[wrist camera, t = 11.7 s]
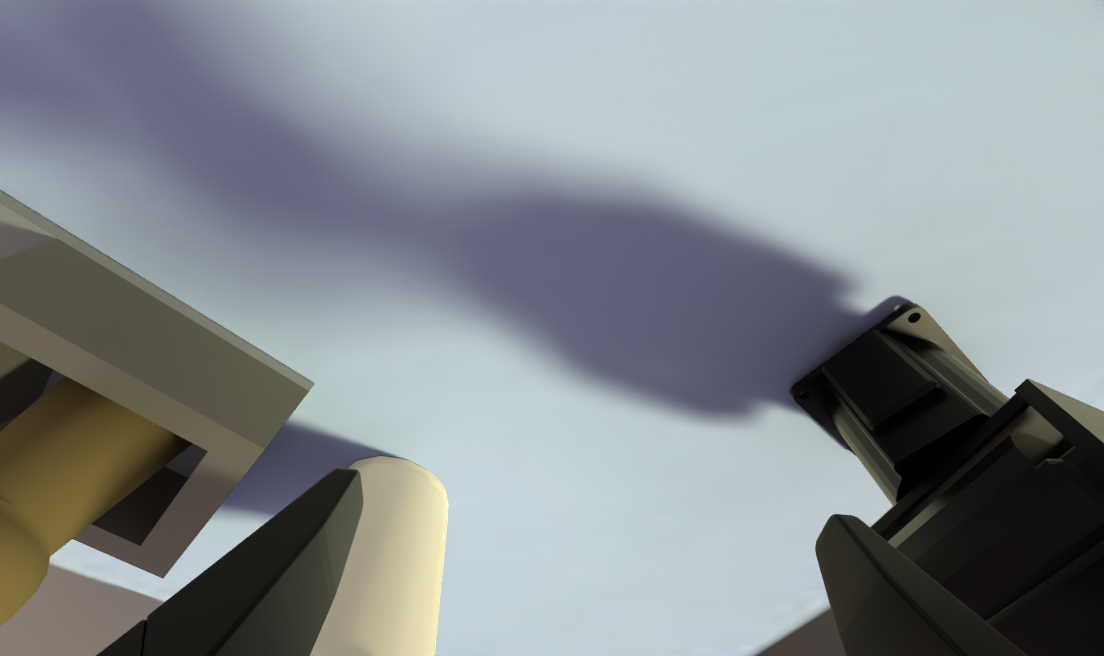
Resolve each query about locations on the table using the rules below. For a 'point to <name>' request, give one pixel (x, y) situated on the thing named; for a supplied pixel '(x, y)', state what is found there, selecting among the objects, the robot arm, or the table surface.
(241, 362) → the socket
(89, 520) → the cork
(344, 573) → the foam cup
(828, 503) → the table surface
